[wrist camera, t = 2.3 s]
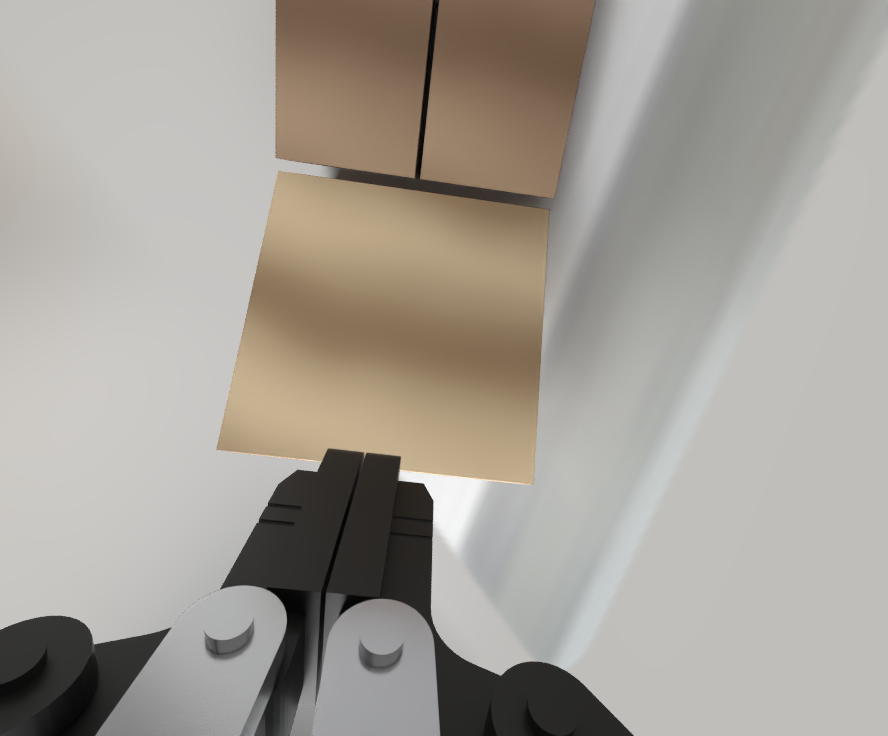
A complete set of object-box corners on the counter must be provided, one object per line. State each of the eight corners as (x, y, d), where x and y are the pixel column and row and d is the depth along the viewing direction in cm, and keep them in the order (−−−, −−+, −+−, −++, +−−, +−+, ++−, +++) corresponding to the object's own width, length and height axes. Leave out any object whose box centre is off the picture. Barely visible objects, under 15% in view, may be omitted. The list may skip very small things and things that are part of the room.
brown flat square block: (294, -195, 14) (276, -241, 12) (611, -135, 14) (631, -173, 13) (289, 160, 17) (275, 157, 16) (545, 197, 18) (554, 198, 16)
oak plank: (288, 196, 17) (278, 170, 16) (537, 231, 18) (549, 209, 16) (234, 452, 15) (216, 449, 14) (521, 484, 16) (533, 484, 14)
